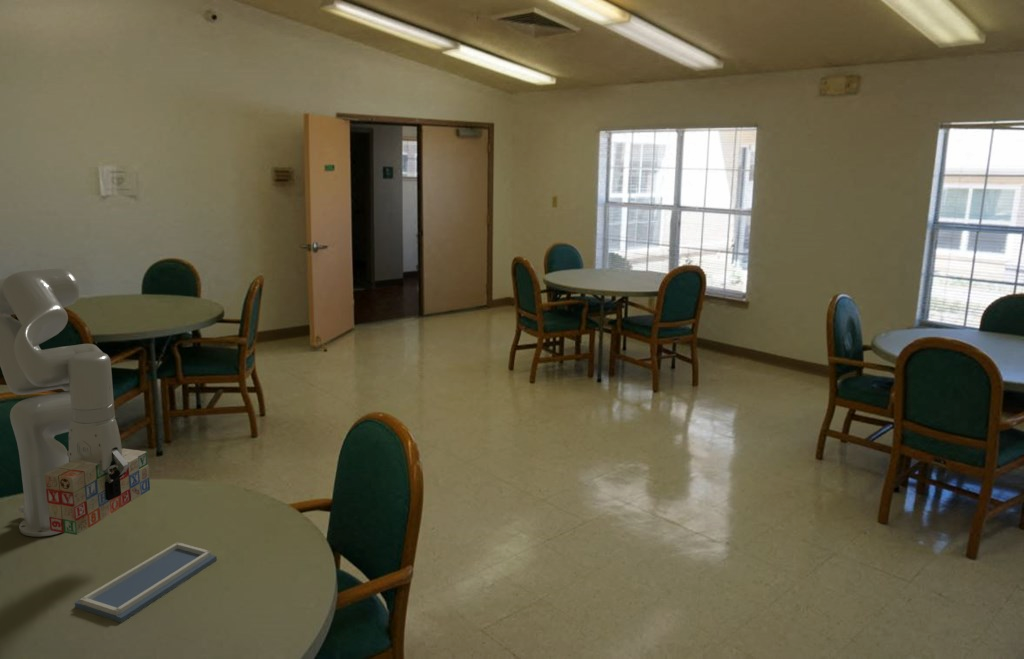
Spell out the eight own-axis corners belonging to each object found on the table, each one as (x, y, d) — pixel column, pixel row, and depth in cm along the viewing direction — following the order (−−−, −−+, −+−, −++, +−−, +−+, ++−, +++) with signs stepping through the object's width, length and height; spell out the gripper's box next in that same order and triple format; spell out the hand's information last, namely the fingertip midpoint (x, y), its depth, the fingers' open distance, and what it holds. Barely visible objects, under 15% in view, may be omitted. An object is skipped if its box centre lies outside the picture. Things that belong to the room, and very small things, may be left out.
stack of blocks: (126, 486, 167) (122, 434, 164) (150, 490, 165) (147, 438, 163) (49, 531, 146) (43, 472, 143) (76, 535, 145) (71, 477, 142)
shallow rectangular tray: (75, 607, 145) (74, 598, 144) (174, 548, 167) (173, 540, 167) (121, 622, 140) (120, 613, 140) (216, 560, 163) (216, 552, 163)
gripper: (45, 411, 150) (53, 493, 154) (109, 425, 144) (116, 510, 148) (78, 401, 157) (85, 479, 161) (141, 414, 151) (146, 495, 155)
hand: (100, 493), depth 154 cm, fingers closed on stack of blocks, 6 cm apart
